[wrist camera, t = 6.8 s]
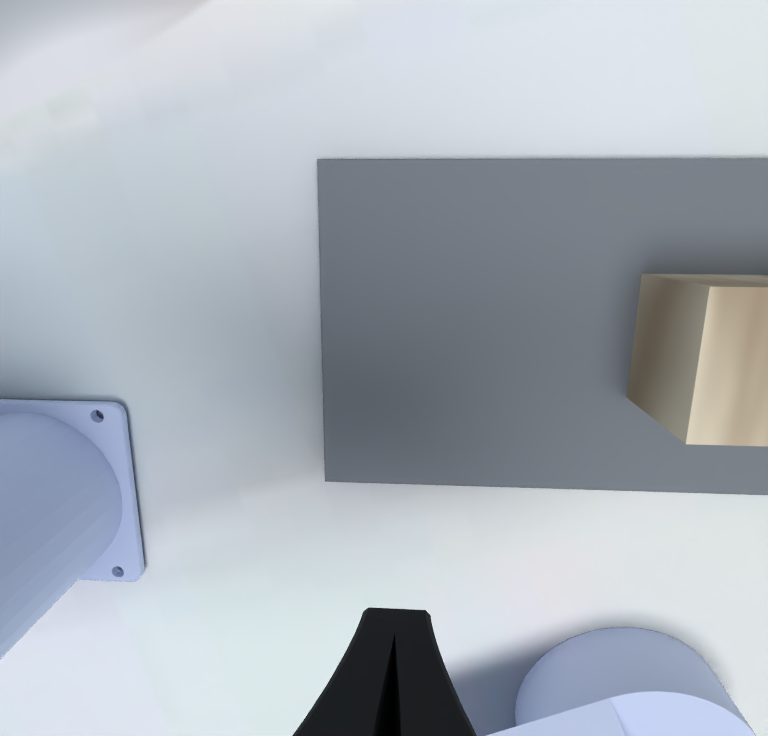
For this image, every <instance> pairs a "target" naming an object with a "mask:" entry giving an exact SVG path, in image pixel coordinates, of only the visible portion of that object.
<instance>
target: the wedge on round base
mask: <svg viewBox="0 0 768 736" xmlns="http://www.w3.org/2000/svg"><path fill="white" fill-rule="evenodd" d="M515 720H516V727H513V728H509V729H506V730H503V731H499V732H496V733H493V734H490V735H486V736H756V735H755V733H754V732H753V730H752V729H751V727H750V726H749V724H748V723H747V721H746V720H745V718H744V717H743V715H742V714H741V712H740V711H739V709H738V708H737V706H736V705H735V704H734V702H733V701H732V699H731V698H730V696H729V695H728V693H727V692H726V690H725V689H724V687H723V686H722V684H721V683H720V681H719V680H718V678H717V677H716V675H715V674H714V672H713V671H712V669H711V668H710V666H709V665H708V664H707V663H706V662H705V660H704V659H703V658H702V657H701V656H700V655H699V654H698V653H696V652H695V651H694V650H693V649H692V648H690V647H689V646H687V645H686V644H684V643H683V642H681V641H679V640H677V639H675V638H673V637H670V636H668V635H665V634H662V633H659V632H656V631H652V630H647V629H642V628H630V627H617V628H606V629H599V630H594V631H591V632H587V633H583V634H580V635H578V636H575V637H573V638H570V639H568V640H566V641H564V642H562V643H561V644H559V645H557V646H555V647H554V648H553V649H551V650H550V651H548V652H547V653H546V654H545V655H544V656H542V657H541V658H540V659H539V660H538V661H537V662H536V663H535V664H534V666H533V667H532V668H531V669H530V671H529V672H528V673H527V675H526V677H525V678H524V680H523V682H522V684H521V687H520V689H519V692H518V695H517V699H516V704H515Z"/></svg>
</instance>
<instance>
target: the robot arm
mask: <svg viewBox="0 0 768 736" xmlns="http://www.w3.org/2000/svg"><path fill="white" fill-rule="evenodd" d="M97 410H99V411H100V412H102V414H103V416H104V418H103V419H100V418H99V417H98V416H97V414H96V411H97ZM117 566H118V567H121V568H122V569H123V571H124V572H123V571H120V570H119V569H118V568H117ZM144 569H145V566H144V558H143V550H142V541H141V533H140V525H139V516H138V508H137V499H136V491H135V483H134V474H133V466H132V457H131V449H130V441H129V432H128V424H127V415H126V411H125V409H124V408H123V406H122V405H120V404H119V403H116V402H100V401H57V400H14V399H0V659H1V658H2V657H3V656H4V655H5V654H6V653H7V652H8V651H9V650H10V649H11V648H12V647H13V646H14V645H15V644H16V643H17V642H18V641H19V640H20V639H21V637H22V636H23V635H24V634H25V633H26V632H27V631H28V630H29V629H30V628H31V627H32V626H33V625H34V624H35V623H36V622H37V621H38V620H39V619H40V618H41V617H42V616H43V615H44V614H45V613H46V612H47V611H48V610H49V609H50V608H51V607H52V605H53V604H54V603H55V602H56V601H57V600H58V599H59V598H60V597H61V596H62V595H63V594H64V593H65V592H66V591H67V590H68V589H69V588H70V587H71V586H72V585H73V584H74V583H75V582H76V581H77V580H101V581H125V582H133V581H136V580H138V579H139V578H140V577H141V576H142V574H143V573H144ZM293 736H477V735H476V733H475V731H474V729H473V727H472V725H471V723H470V721H469V719H468V717H467V715H466V713H465V711H464V709H463V707H462V705H461V703H460V700H459V698H458V696H457V694H456V691H455V689H454V687H453V684H452V682H451V680H450V677H449V675H448V673H447V670H446V668H445V665H444V662H443V660H442V657H441V654H440V651H439V648H438V645H437V642H436V639H435V635H434V632H433V628H432V623H431V616H430V614H429V613H428V612H427V611H426V610H409V609H388V608H367V609H366V610H365V611H364V612H363V614H362V617H361V620H360V623H359V625H358V627H357V630H356V632H355V634H354V636H353V638H352V641H351V643H350V644H349V646H348V648H347V650H346V652H345V654H344V656H343V658H342V660H341V661H340V663H339V665H338V667H337V668H336V670H335V672H334V674H333V675H332V677H331V679H330V681H329V682H328V684H327V686H326V687H325V689H324V690H323V692H322V693H321V695H320V696H319V698H318V699H317V701H316V703H315V704H314V706H313V707H312V709H311V710H310V712H309V713H308V715H307V716H306V718H305V719H304V721H303V722H302V723H301V725H300V726H299V727H298V729H297V730H296V732H295V733H294V734H293Z"/></svg>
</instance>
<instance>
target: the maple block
mask: <svg viewBox="0 0 768 736" xmlns="http://www.w3.org/2000/svg"><path fill="white" fill-rule="evenodd" d="M627 398H628V399H629V400H630V401H632V402H633V403H634V404H635V405H637V406H638V407H639V408H641V409H642V410H643V411H644V412H646V413H647V414H648V415H649V416H651V417H652V418H653V419H654V420H656V421H657V422H658V423H659V424H661V425H662V426H663V427H664V428H666V429H667V430H668V431H670V432H671V433H672V434H673V435H675V436H676V437H677V438H678V439H680V440H681V441H682V442H683V443H685V444H693V445H731V446H768V275H727V274H642V275H641V283H640V291H639V300H638V308H637V316H636V324H635V332H634V341H633V349H632V357H631V365H630V373H629V382H628V390H627Z"/></svg>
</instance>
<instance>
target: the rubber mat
mask: <svg viewBox="0 0 768 736" xmlns="http://www.w3.org/2000/svg"><path fill="white" fill-rule="evenodd" d="M317 165H318V207H319V249H320V291H321V333H322V375H323V417H324V459H325V481H326V482H358V483H390V484H423V485H455V486H488V487H520V488H553V489H585V490H617V491H650V492H682V493H715V494H747V495H768V446H731V445H693V444H685V443H683V442H682V441H681V440H680V439H678V438H677V437H676V436H675V435H673V434H672V433H671V432H670V431H668V430H667V429H666V428H664V427H663V426H662V425H661V424H659V423H658V422H657V421H656V420H654V419H653V418H652V417H651V416H649V415H648V414H647V413H646V412H644V411H643V410H642V409H641V408H639V407H638V406H637V405H635V404H634V403H633V402H632V401H630V400H629V399H628V398H627V390H628V382H629V373H630V365H631V357H632V349H633V341H634V332H635V324H636V316H637V308H638V300H639V291H640V283H641V275H642V274H727V275H768V159H317Z"/></svg>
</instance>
